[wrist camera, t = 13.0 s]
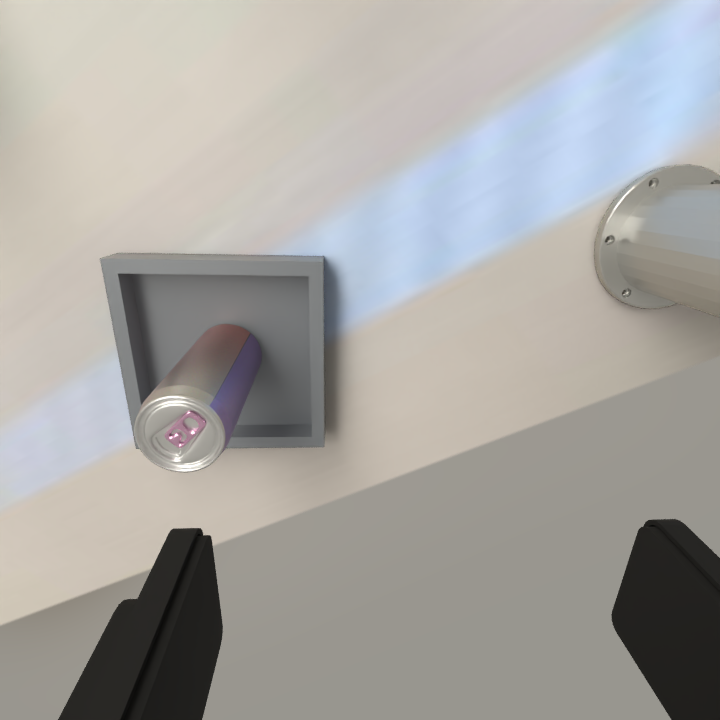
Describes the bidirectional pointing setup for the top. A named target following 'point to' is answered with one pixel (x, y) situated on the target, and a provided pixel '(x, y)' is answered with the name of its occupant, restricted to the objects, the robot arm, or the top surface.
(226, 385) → the beverage can
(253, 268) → the tray
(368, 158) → the top surface
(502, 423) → the top surface
